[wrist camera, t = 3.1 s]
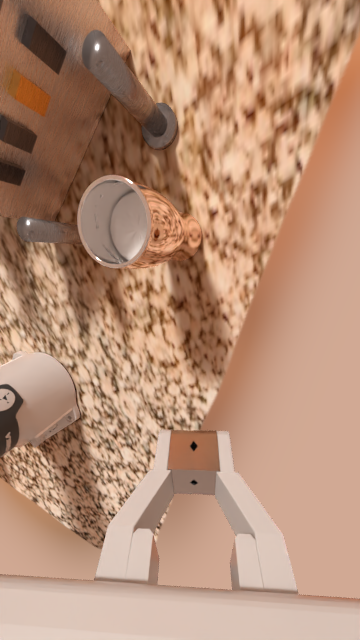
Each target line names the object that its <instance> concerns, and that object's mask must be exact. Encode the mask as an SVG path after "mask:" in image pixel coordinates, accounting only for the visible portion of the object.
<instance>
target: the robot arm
mask: <svg viewBox="0 0 360 640" xmlns="http://www.w3.org/2000/svg"><path fill="white" fill-rule="evenodd" d="M79 418H80V412H79V409H78V406H77V404H76V393H75V388H74V384H73V382H72V379H71V377H70V375H69V374H68V372H67V371H66V369H65V368H64V367H63V366H62V365H61V363H59V362H58V361H57V360H56V359H55V358H53V357H52V356H50V355H48V354H45V353H41V352H35V353H26V352H23V351H18V352H16V353H14V355H13V359H12V361H10V362H8V363H6V364H3V365H1V366H0V458H1V457H2V456H4V455H5V454H6V453H7V452H8V451H10V450H11V449H13V448H14V447H22V446H23V445H24V444H26V443H27V442H28V441H30V442H31V443H32V445H33V446H34V447H37V446H38V445H39V444H41V443H42V442H43V441H44V440H46V439H48V438H49V437H51V436H52V435H54V434H56V433H57V432H59V431H60V430H62V429H63V428H65V427H67V426H68V425H70V424H71V423H73V422H74V421H76V420H77V419H79ZM174 494H203V495H215V498H216V499H217V501H218V503H219V505H220V507H221V509H222V511H223V512H224V515H225V516H226V518H227V520H228V522H229V524H230V526H231V528H232V529H233V531H234V533H235V535H236V538H235V541H234V545H233V550H232V556H231V560H230V568H231V581H232V590H225V589H209V588H195V587H180V586H166V585H157V581H158V569H159V556H158V552H157V548H156V544H155V540H154V536H153V532H154V531H155V529H156V527H157V525H158V523H159V521H160V520H161V518H162V516H163V514H164V512H165V511H166V509H167V507H168V505H169V503H170V502H171V500H172V498H173V496H174ZM0 640H360V599H355V598H342V597H326V596H312V595H298V591H297V587H296V583H295V579H294V575H293V571H292V568H291V563H290V559H289V555H288V552H287V548H286V543H285V539H284V535H283V534H282V532H281V531H280V529H279V528H278V527H277V525H276V524H275V523H274V521H273V520H272V518H271V517H270V516H269V514H268V513H267V511H266V510H265V509H264V507H263V506H262V505H261V503H260V502H259V500H258V499H257V497H256V496H255V495H254V493H253V492H252V491H251V489H250V488H249V486H248V485H247V484H246V482H245V481H244V479H243V478H242V477H241V475H240V474H239V473H238V472H235V470H234V463H233V456H232V449H231V442H230V435H229V432H228V431H203V430H194V431H187V430H160V431H159V435H158V442H157V449H156V456H155V463H154V469H150V470H149V471H148V473H147V474H146V475H145V477H144V478H143V480H142V481H141V482H140V484H139V485H138V486H137V488H136V489H135V490H134V492H133V493H132V494H131V496H130V497H129V498H128V500H127V501H126V502H125V504H124V505H123V506H122V508H121V509H120V510H119V512H118V513H117V514H116V516H115V517H114V518H113V520H112V521H111V522H110V524H109V525H108V528H107V532H106V536H105V540H104V544H103V548H102V552H101V555H100V560H99V564H98V567H97V571H96V575H95V579H94V581H92V580H78V579H64V578H49V577H34V576H20V575H5V574H4V575H3V574H0Z"/></svg>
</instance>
